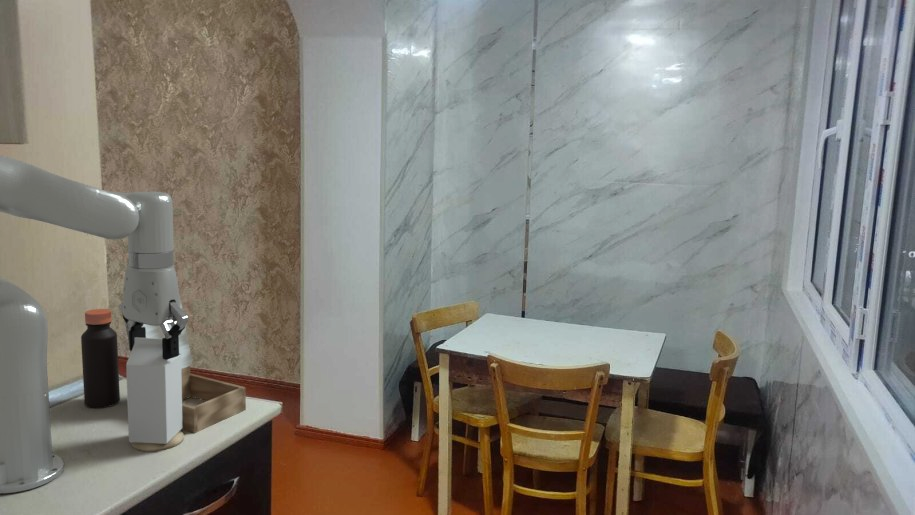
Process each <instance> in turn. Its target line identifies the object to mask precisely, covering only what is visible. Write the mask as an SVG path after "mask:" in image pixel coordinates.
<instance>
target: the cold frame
mask: <svg viewBox="0 0 915 515" xmlns="http://www.w3.org/2000/svg"><path fill="white" fill-rule="evenodd" d="M179 298H180V308H181V309H182V310H183V311H184V309H183V304H182V299H181V297H179ZM124 324H125V331H126V335H127V340H128V343H129V330H128V329H127V328H126V325H127V323H126V322H125V321H124ZM167 326H168V328H169V330H170V329H171V328H172V327H171V325H170V324H169V325H167ZM142 327H145V329H146V338H157V339H162V338H165V336H164V334H163V331H162V329H161V327H160V325H159V326H152V325H147V324H143V326H142ZM189 342H190V341H189V337H188V331H187V325H185V328H184V330H183V331H182V332H181V335H180V336H179V353H180V354H181V377H182V401H183V400H186V399H189V398H193V399H194V398H195V399H198V400H201V401H204V402H201V403H200V404H197V405H195V406H193V405H189V404H186V403H183V402H182V429H181V430H182V431H186V432H189V433H193V434H195V433H197V432H200V431H202V430H204V429H206V428H209V427H211V426H213V425H216V424H217V423H220V422H222V421H224V420H227V419H228V418H230V417H233V416H235V415H237V414H239V413H241V412H244V411H246V409H247V407H246V406H247V404H246V402H247V401H246V400H247V399H246V398H247V397H246V394H247V393H246V391H247V390H246V387H245V386H242V385H238V384H234V383H230V382H226V381H222V380H218V379H216V378H215V379H214V378H211V377H207V376H204V375H203V376H202V375H198V374H194V373H191V366H193V365H194V364H193V360H192V359H193V358H192V354H191V349H190V348H191V347H190V343H189ZM129 351H130V350H129ZM129 353H131V351H130V352H129Z"/></svg>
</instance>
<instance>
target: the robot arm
mask: <svg viewBox="0 0 915 515" xmlns="http://www.w3.org/2000/svg"><path fill="white" fill-rule="evenodd" d="M173 207H174V206H173V198H172V197H171V195H170V194H169V193H166V192H162V191H151V190H150V191H147V190H146V191H145V190H144V191H143V190H142V191H134V192H120V191H119V192H118V191H109V190H104V189H101V188H97V187H95V186H92V185H88V184H85V183H82V182H79V181H76V180H72V179H69V178H66V177H64V176H60V175H58V174H55V173H52V172H49V171H47V170H45V169H42V168H40V167H37V166H35V165H33V164H30V163H27V162H23V161H20V160H18V159H15V158H11V157H8V156H4V155H1V154H0V213H3V214H8V215H9V216H10V215H12V216H14V217H18V218H23V219H28V220H34V221H38V222H43V223H46V224H51V225H54V226H58V227H62V228H64V229H69V230H73V231H76V232H80V233H84V234H87V235H91V236H96V237H99V238H102V239H107V240H123V239H125V238H127V246H128V248H127V249H128V250H127V251H128V266H126V269H125V274H124V279H123V280H124V281H123V293H122V294H123V295H122V302H120V304H119V305H118V307H119V310H120V312H121V314H122V318H123V320H124V323H125V322H126V323H127V325H126V326H125V329H126V328H127V329H128V330H129V342H128V345H129V348H128V349H129V351H132V349H133V346H134V344H135V337H138V338H146V329H145V327H142V326H143V324H147V325H152V326H159V325H160V327H161V329H162V331H163V334H164V336H165V338H162V351H163V359H165V360H167V359H171V358H174V357H177V356H178V355H179V336H180V335H181V332H182V331H183V330H184V328H185V325H186V324H187V323H188V322H189V319H190V318H189V316H188V315H187V313H186V312H185V311H184V309H183V310H182V309H181V308H180V298H181V297H180V291H179V290H180V289H179V283H178V282H179V281H178V276H177V271H176V268H175V258H174V257H175V254H174V252H175V251H174V216H173V215H174V211H173ZM169 324H170V325H171V327H172V328H171V329H170V330H169V328H168V326H167V325H169ZM186 326H187V325H186ZM48 334H49V325H48V320H47V315H46V313H45V310H44V308H43V306H42V305H41V304H40V303H39V301H38V300H36V299H35V298H34V297H33V296H32V295H31V294H30V293H28V292H26V291H25V290H24V289H22V288H21V287H20V286H18V285H16V284H14V283H12V282H11V281H8V280H7V279H4V278H2V277H0V494H13V493H19V492H25V491H28V490H32V489H36V488H38V487H41V486H43V485H46V484H48V483H50V482H52V481H53V480H55V479H56V478H58V477H59V476H60V475H61V474H62V473H63V471H64V469H65V463H64V460H63V458H62V457H60V456H58V455H57V454H53V444H52V441H53V440H52V427H51V426H52V424H51V410H50V396H49V395H50V394H49V392H50V391H49V380H48V363H47V362H48V361H47V360H48V359H47V358H48V356H47V352H48V336H49V335H48Z"/></svg>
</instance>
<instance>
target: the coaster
mask: <svg viewBox="0 0 915 515" xmlns="http://www.w3.org/2000/svg"><path fill="white" fill-rule="evenodd" d="M184 435H185V434H184V432H182V431H181V430H180V431H179V432H178V433H177V434H176V435H175V436H174V437H173V438H172V439H171V440H170V441H169V442H168V443H167V444H159V443H140V442H131V447H133V449H135V450H138V451H140V452H141V451H142V452H159V451H165V450H168V449H172V448H174V447H177V446H178V445H180V444H181V443H183V441H184Z"/></svg>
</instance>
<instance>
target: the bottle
mask: <svg viewBox="0 0 915 515" xmlns="http://www.w3.org/2000/svg"><path fill="white" fill-rule="evenodd" d="M84 321H85V326H86V328H87V329H86V330H85V331H84V332H83V333H82V334H81V336H80V344H81V359H82V381H83V398H84V405H85V407H87V408H88V407H89V408H91V409H92V408H94V409H100V408H101V409H102V408H107V407H112V406H114V405H116V404H118V403H119V402H120V400H121V392H120V371H119V351H118V349H119V348H118V333H117V332H116V330H115V329H113V328H112V327H111V324H112V310H110V309H107V308H106V309H105V308H96V309H95V308H94V309H90V310H86V311H85V312H84Z"/></svg>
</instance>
